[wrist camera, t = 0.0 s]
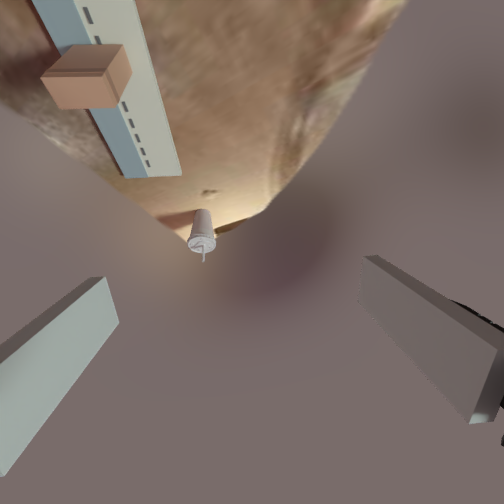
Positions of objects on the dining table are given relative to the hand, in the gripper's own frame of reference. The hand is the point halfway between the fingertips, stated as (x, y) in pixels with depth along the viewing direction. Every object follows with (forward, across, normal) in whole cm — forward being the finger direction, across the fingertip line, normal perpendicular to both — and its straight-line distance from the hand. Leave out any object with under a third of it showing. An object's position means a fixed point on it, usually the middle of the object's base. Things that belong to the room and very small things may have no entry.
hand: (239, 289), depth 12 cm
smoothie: (+48, -9, -4) cm, 49 cm away
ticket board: (+33, -16, +16) cm, 40 cm away
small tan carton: (+28, -16, +20) cm, 38 cm away
